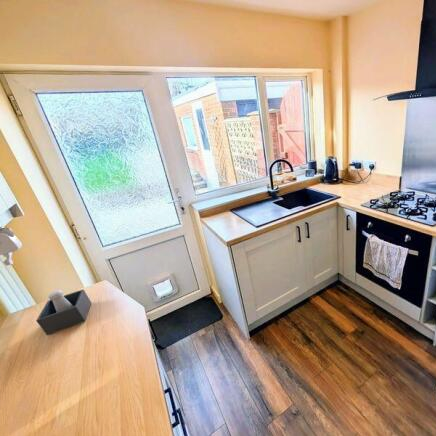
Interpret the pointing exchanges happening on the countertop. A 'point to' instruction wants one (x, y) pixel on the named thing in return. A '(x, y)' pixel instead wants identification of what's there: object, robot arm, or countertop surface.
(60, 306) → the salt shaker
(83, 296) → the bin
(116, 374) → the countertop surface
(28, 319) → the countertop surface
